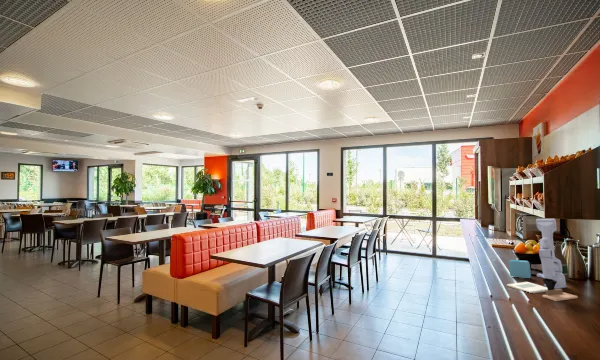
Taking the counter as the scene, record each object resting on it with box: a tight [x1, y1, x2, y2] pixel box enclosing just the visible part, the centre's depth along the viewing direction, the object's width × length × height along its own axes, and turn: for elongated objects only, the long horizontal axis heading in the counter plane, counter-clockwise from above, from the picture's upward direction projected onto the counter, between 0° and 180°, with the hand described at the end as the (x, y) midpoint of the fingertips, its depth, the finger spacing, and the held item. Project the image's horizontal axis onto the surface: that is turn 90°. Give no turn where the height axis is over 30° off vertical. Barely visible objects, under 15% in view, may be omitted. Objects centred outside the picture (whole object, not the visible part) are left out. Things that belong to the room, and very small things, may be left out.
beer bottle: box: [554, 243, 570, 282], centre depth 207 cm, size 8×8×24 cm
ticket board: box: [506, 281, 548, 294], centre depth 194 cm, size 16×18×1 cm
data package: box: [508, 259, 532, 279], centre depth 219 cm, size 12×4×12 cm, turn 46°
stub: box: [542, 288, 579, 302], centre depth 175 cm, size 15×8×4 cm, turn 99°
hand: (551, 291), depth 180 cm, fingers closed
